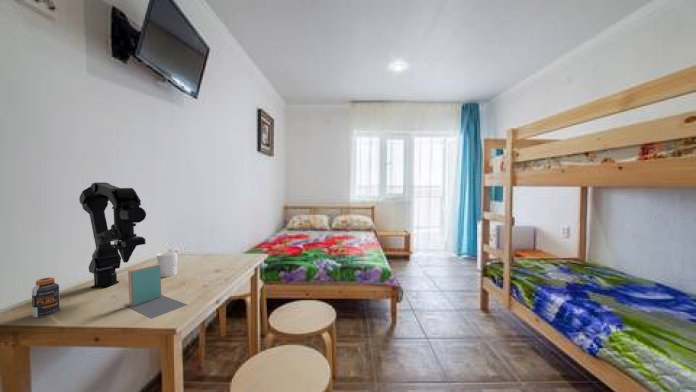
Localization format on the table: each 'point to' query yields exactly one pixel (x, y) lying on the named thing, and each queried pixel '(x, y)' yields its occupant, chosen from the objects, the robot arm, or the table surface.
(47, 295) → the pill bottle
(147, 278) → the tile
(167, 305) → the mat
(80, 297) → the table surface
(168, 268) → the white cup
